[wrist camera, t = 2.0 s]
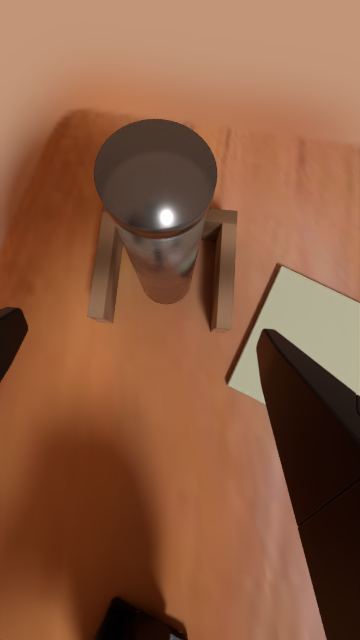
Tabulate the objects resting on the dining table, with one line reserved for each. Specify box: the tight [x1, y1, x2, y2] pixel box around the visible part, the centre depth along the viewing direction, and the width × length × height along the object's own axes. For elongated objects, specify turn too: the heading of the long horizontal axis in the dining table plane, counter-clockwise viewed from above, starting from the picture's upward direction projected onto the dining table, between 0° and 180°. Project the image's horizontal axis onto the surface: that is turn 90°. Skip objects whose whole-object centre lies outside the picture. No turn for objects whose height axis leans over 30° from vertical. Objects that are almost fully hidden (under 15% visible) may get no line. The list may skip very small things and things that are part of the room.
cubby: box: [87, 205, 237, 333], centre depth 20 cm, size 10×11×3 cm
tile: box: [227, 266, 360, 404], centre depth 21 cm, size 12×12×1 cm
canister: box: [94, 119, 217, 304], centre depth 15 cm, size 5×5×13 cm
